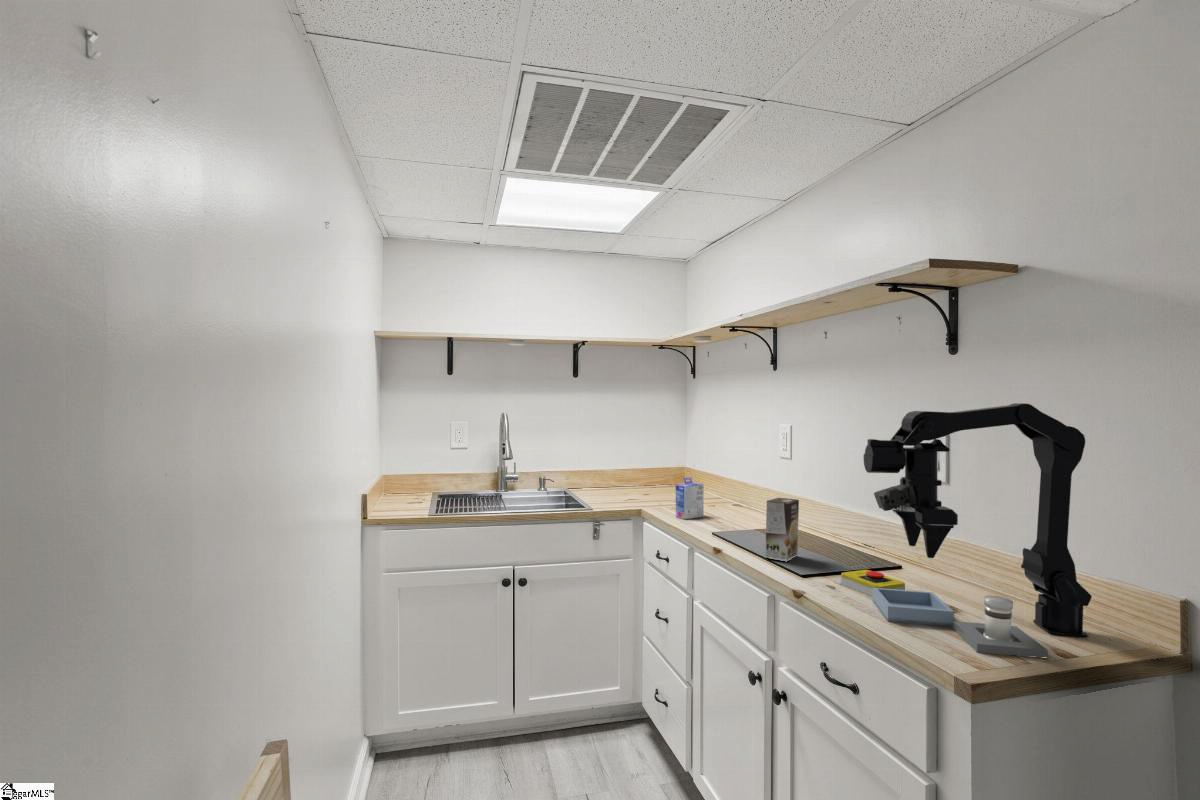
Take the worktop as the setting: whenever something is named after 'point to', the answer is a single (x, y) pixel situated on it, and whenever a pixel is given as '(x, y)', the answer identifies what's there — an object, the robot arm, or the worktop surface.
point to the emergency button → (868, 581)
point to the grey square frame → (999, 641)
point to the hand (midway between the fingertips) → (920, 551)
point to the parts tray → (912, 607)
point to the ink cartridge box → (689, 500)
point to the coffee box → (782, 528)
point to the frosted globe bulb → (998, 618)
